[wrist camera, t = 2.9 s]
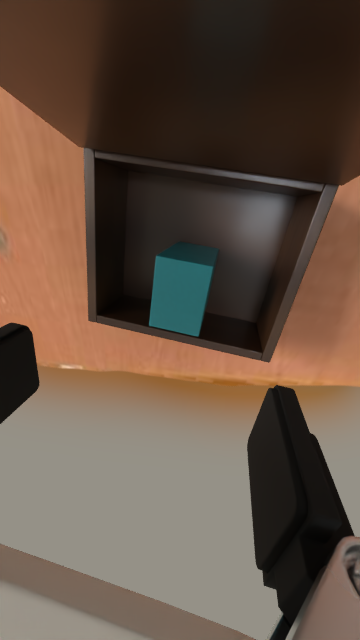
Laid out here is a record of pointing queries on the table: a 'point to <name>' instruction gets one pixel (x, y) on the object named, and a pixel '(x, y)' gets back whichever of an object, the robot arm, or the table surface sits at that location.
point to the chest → (201, 229)
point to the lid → (195, 79)
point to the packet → (182, 287)
